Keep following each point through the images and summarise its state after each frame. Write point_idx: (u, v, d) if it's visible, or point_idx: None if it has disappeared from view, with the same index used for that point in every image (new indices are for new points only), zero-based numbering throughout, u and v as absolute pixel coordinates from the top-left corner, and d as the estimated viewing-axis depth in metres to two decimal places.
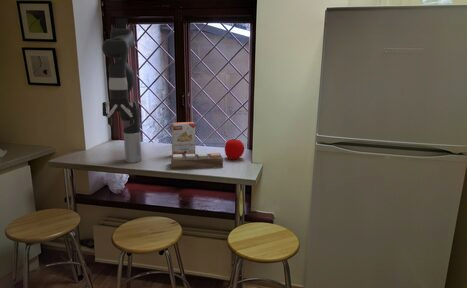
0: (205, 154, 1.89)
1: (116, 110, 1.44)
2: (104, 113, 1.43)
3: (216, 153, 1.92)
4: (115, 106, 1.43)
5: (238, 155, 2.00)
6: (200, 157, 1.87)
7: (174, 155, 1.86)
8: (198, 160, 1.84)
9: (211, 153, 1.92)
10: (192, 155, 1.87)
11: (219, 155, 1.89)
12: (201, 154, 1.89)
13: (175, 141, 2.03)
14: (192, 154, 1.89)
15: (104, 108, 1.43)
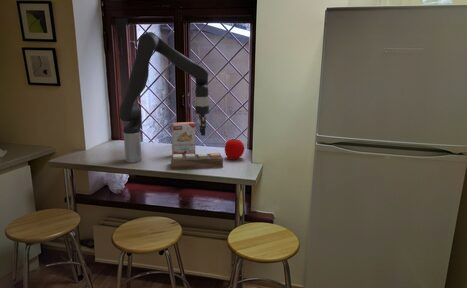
0: (205, 154, 1.89)
1: None
2: (205, 126, 1.79)
3: (216, 153, 1.92)
4: None
5: (238, 155, 2.00)
6: (200, 157, 1.87)
7: (174, 155, 1.86)
8: (198, 160, 1.84)
9: (211, 153, 1.92)
10: (192, 155, 1.87)
11: (219, 155, 1.89)
12: (201, 154, 1.89)
13: (175, 141, 2.03)
14: (192, 154, 1.89)
15: None
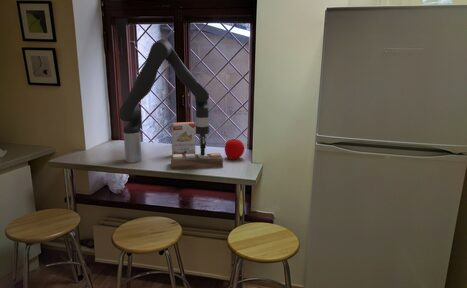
0: (205, 154, 1.89)
1: None
2: None
3: (216, 153, 1.92)
4: None
5: (238, 155, 2.00)
6: (200, 157, 1.87)
7: (174, 155, 1.86)
8: (198, 160, 1.84)
9: (211, 153, 1.92)
10: (192, 155, 1.87)
11: (219, 155, 1.89)
12: (201, 155, 1.89)
13: (175, 141, 2.03)
14: (192, 154, 1.89)
15: None
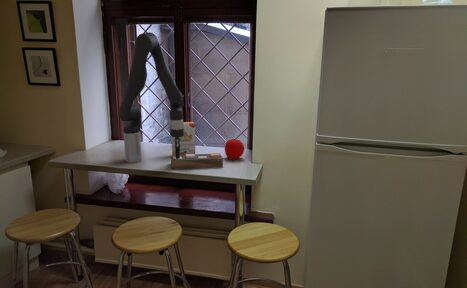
0: (205, 157, 1.90)
1: (179, 143, 1.85)
2: (179, 149, 1.83)
3: (216, 153, 1.92)
4: (180, 141, 1.83)
5: (238, 155, 2.00)
6: None
7: (174, 158, 1.86)
8: (198, 160, 1.84)
9: (211, 153, 1.92)
10: (192, 155, 1.87)
11: (219, 155, 1.89)
12: (201, 157, 1.89)
13: None
14: (192, 154, 1.89)
15: (179, 147, 1.81)
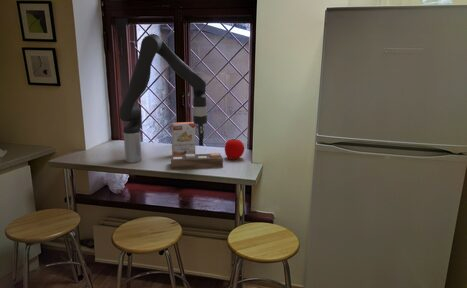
0: (205, 157, 1.90)
1: None
2: None
3: (216, 153, 1.92)
4: None
5: (238, 155, 2.00)
6: None
7: (174, 158, 1.87)
8: (198, 160, 1.84)
9: (211, 153, 1.92)
10: (192, 155, 1.87)
11: (219, 155, 1.89)
12: (201, 157, 1.89)
13: (175, 141, 2.03)
14: (192, 154, 1.89)
15: None
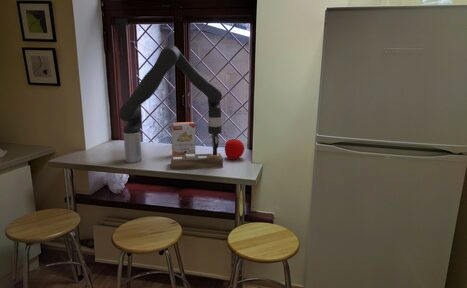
0: (205, 157, 1.90)
1: None
2: (217, 146, 1.87)
3: None
4: None
5: (238, 155, 2.00)
6: None
7: (174, 158, 1.87)
8: (198, 160, 1.84)
9: (211, 154, 1.92)
10: (192, 155, 1.87)
11: (219, 156, 1.89)
12: (201, 157, 1.89)
13: (175, 141, 2.03)
14: (192, 154, 1.89)
15: None
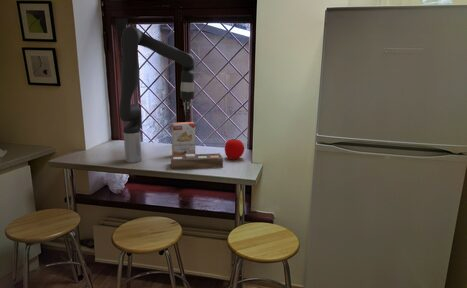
0: (205, 157, 1.90)
1: None
2: (189, 111, 1.88)
3: (216, 156, 1.92)
4: (190, 104, 1.88)
5: (238, 155, 2.00)
6: None
7: (174, 158, 1.87)
8: (198, 160, 1.84)
9: (211, 156, 1.92)
10: (192, 155, 1.87)
11: None
12: (201, 157, 1.89)
13: (175, 141, 2.03)
14: (192, 154, 1.89)
15: (189, 109, 1.86)
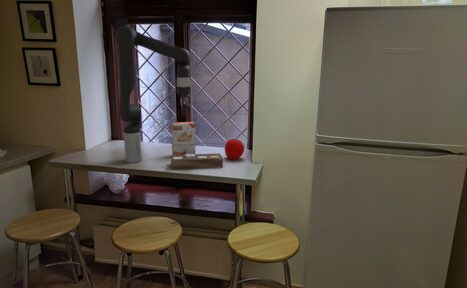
0: (205, 157, 1.90)
1: None
2: (186, 107, 1.87)
3: (216, 156, 1.92)
4: None
5: (238, 155, 2.00)
6: None
7: (174, 158, 1.87)
8: (198, 160, 1.84)
9: (211, 156, 1.92)
10: (192, 155, 1.87)
11: None
12: (201, 157, 1.89)
13: (175, 141, 2.03)
14: (192, 154, 1.89)
15: (186, 104, 1.85)
